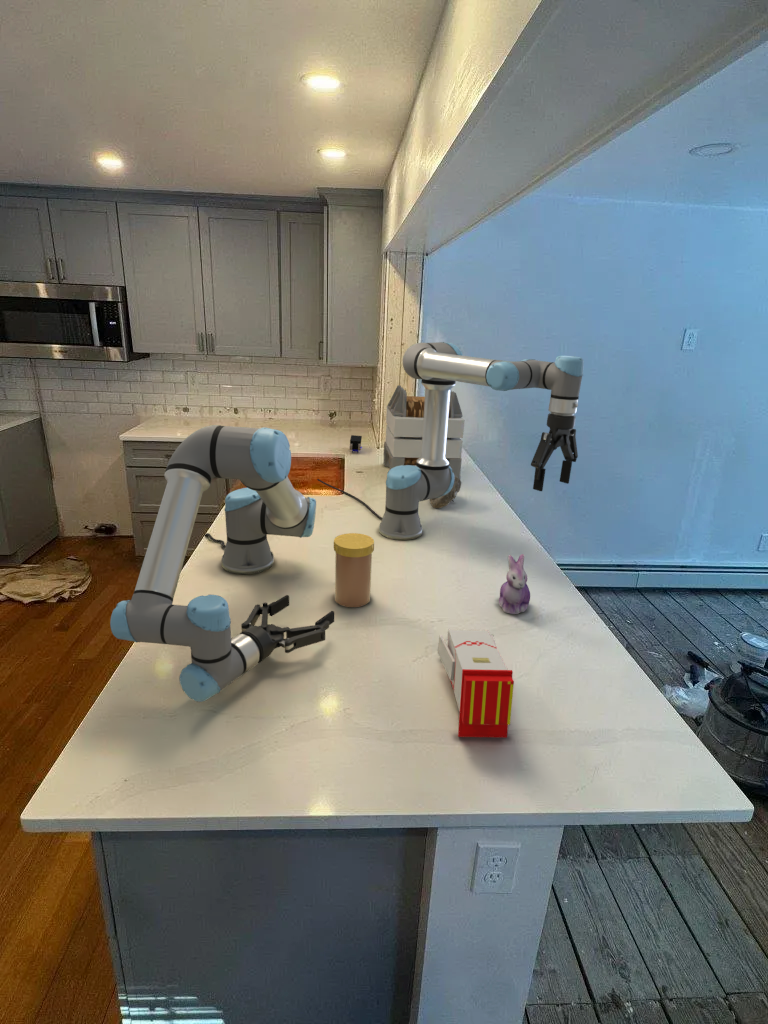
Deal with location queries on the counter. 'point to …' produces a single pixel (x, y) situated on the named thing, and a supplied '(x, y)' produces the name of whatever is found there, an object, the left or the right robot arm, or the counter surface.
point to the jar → (352, 580)
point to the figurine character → (355, 443)
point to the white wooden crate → (418, 431)
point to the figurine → (515, 588)
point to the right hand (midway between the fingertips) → (551, 486)
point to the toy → (478, 682)
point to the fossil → (447, 495)
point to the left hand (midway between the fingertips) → (310, 607)
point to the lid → (353, 545)
